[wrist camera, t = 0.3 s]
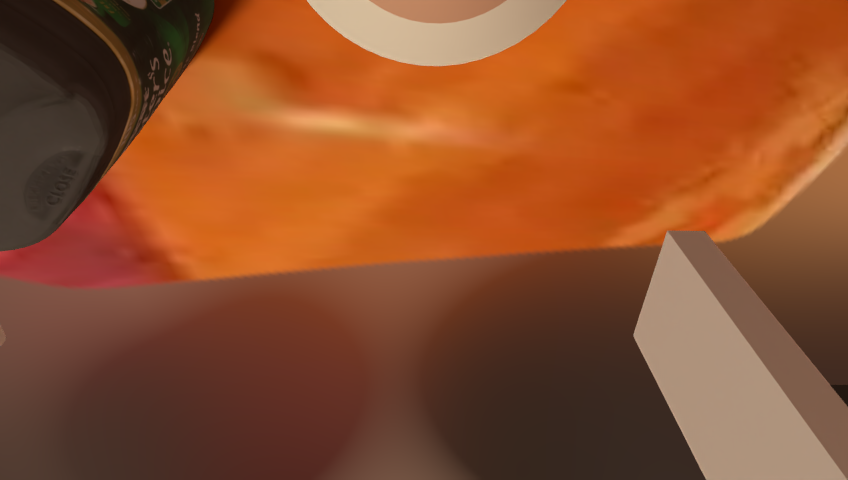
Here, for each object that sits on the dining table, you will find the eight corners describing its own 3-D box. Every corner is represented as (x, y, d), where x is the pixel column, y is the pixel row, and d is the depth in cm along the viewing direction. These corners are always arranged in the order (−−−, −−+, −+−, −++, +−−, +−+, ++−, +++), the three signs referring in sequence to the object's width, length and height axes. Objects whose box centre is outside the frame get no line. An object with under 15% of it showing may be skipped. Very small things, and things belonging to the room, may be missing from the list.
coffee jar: (161, 114, 38) (15, 306, 23) (31, 33, 35) (-240, 192, 20) (243, -15, 34) (134, 112, 19) (105, -119, 31) (-159, -70, 16)
